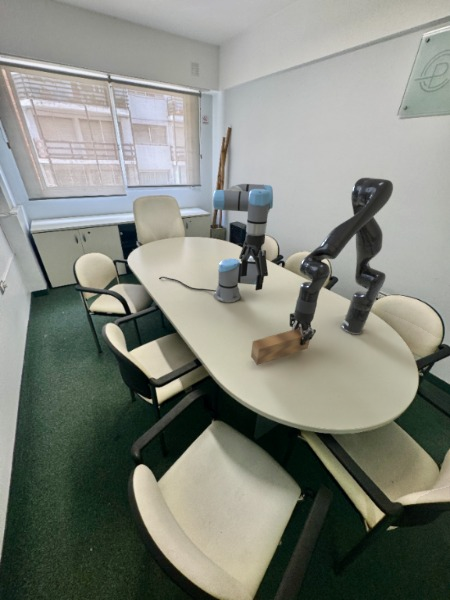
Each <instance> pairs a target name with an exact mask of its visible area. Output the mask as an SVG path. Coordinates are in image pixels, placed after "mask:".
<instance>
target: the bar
mask: <svg viewBox="0 0 450 600" xmlns="http://www.w3.org/2000/svg"><path fill="white" fill-rule="evenodd" d="M304 331H305V330H304ZM304 336H305V334H304ZM300 341H301V334H300V329H299V328H298V329H294V330H292V329H291V330H288V331H284V332H280V333H277V334H273V335H270V336H266V337H263V338H260V339H256V340H253V341H252V343H251V354H250V358H251V359H252V360H253V362H254V363H255V365H256V366H259V365H262V364H264V363H268V362H271V361H274V360H276V359H280V358H283V357H286V356H290V355H293V354H295V353H299V352H302V351H305V350H307V349H309V345H310V342H311V340H308V341H306V344H305V345H302V346H301V345H300Z"/></svg>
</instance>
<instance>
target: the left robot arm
mask: <svg viewBox="0 0 450 600" xmlns="http://www.w3.org/2000/svg"><path fill="white" fill-rule="evenodd" d="M273 189H274V188H273V186H272V185H270V184H255V183H254V184H253V183H239V184H235V185H232V186H230V187H228V188H227V189H216V190H214V192H213V195H212V207H213V209H214V210H217V211H218V210H219V211H232V212H233V211H234V212H246V213H247V218H246V226H245V227H246V229H245V232H246V233H245V240H244V241H243V245H242V248H241V251H240V254H239V257H238V258H239V259H237V258H226V259H223V260H221V261H220V262H219V264H218V269H217V270H218V282H217V283H218V285H217V288H216V290H215V289H208V288H196V287H192V286H190V285H187V284H185V283H184V282H182V281H180V280H178V279H176V278H171V277H167V276H159V280H160V279H167V280H171V281H175V282H178V283H180V284H182V285H183V286H184V287H186V288H189V289H192V290H195V291H208V292H215V293H214V297H215V299H216V300H217V301H218V302H222V303H225V304H229V303H230V304H231V303H235V302H238V301H239V300H240V298H241V291H240V288H239V284H244V285H253V286H255V291H260V290H263V286H264V281H265V277H268V276H269V272H268V270H269V269H268V264H267V250H266V249H263V248H264V244H265V242H266V232H267V225H268V217H269V216H268V215H269V213H270V211H271V209H273V206H274V191H273Z"/></svg>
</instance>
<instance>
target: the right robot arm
mask: <svg viewBox="0 0 450 600" xmlns="http://www.w3.org/2000/svg"><path fill="white" fill-rule="evenodd" d="M393 191H394V183H393V182H392V181H391V180H389V179H386V178H378V177H377V178H375V177H361V178H359V179H358V180H356V182H355V183H354V185H353V187H352V190H351V194H350V195H351V197H350V199H351V207H352V213H353V216H351V217H349V218H347V219H346V220H345V221H342V222H341V223H339V224H338V225H337V226H334V228H333V229H332V230H331V231H330V232H329V233H328V234H327V235H326V237H325V238H324V239H323V241H322V242H321V244H320V245H319V246H318V247H316V248H315V249H314V250H313V251H311V252H310V253H308V255H306V256H305V257H304V258H303V259H302V261H301V262H300V265H299V272H300V273H301V275H303V276H305V277H306V278H307V279H309V280H311V281H304V282H302V283H301V285H300V288H299V290H298V291H299V292H298V297H297V299H296V303H295V308H294V312H291V313H289V327H291V330H294V329H298V328H299V329H300V334H301V341H300V345H301V346H302V345H305V344H306V341H308V340H310V341H311V340H312V339H313V337H314V336H315V334H316V333H317V332H316V329H313V328H312V322H313V320H314V317H315V314H316V309H317V306H318V299H319V295H320V291H321V290H322V289H323V286H324V284H325V283H326V281H327V280H328V278H329V276H330V274H331V269H330V266H329V264H327V263H326V262H324V260H335V259H336V258H338V256H339V255H340V253H341V252H342V251H343V250H344V248H345V247H346V246H347V245H348V243H349V242H350V241H351V240H352V238H353V237H354V236H355V251H356V255H355V256H356V263H355V264H356V265H355V275H354V280H355V283H356V284H357V285H358V286H360V287H362V288H364V289H366V290H367V291H363V290H358V291H355V292H354V293H353V295H352V298H351V301H350V303H349V306H348V309H347V311H346V315H345V316H344V317H345V318H344V319H343V323H342V325H341V327H342V329H343V330H344V331H345V332H346V333H348V334H350V335H351V334H352V335H360V334H362V333H363V330H364V328H365V325H366V323H367V320H368V318H369V316H370V313H371V311H372V308H373V305H374V303H375V301H376V299H377V298H378V297H379V296H378V295H379V294H380V292H381V289H382V287H383V285H384V283H385V281H386V278H387V276H386V273H385V272H383V271H381V270H378V269H376V268H373V267H371V266H370V265H371V264H370V262H371V260H373V259H374V258H375V257H377V255H378V254H379V253H380V252H381V251H382V248H383V237H384V235H383V231H382V228H381V226H380V224H379V223H378V221H377V220H376V218H375V216H376V215H377V214H378V213H379V212H380V211H381V210H382V209H383V208H384V207H385V205H387V204H388V202H389V200H390V199H391V197H392V195H393ZM304 330H305V331H304ZM304 334H305V336H304Z"/></svg>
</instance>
